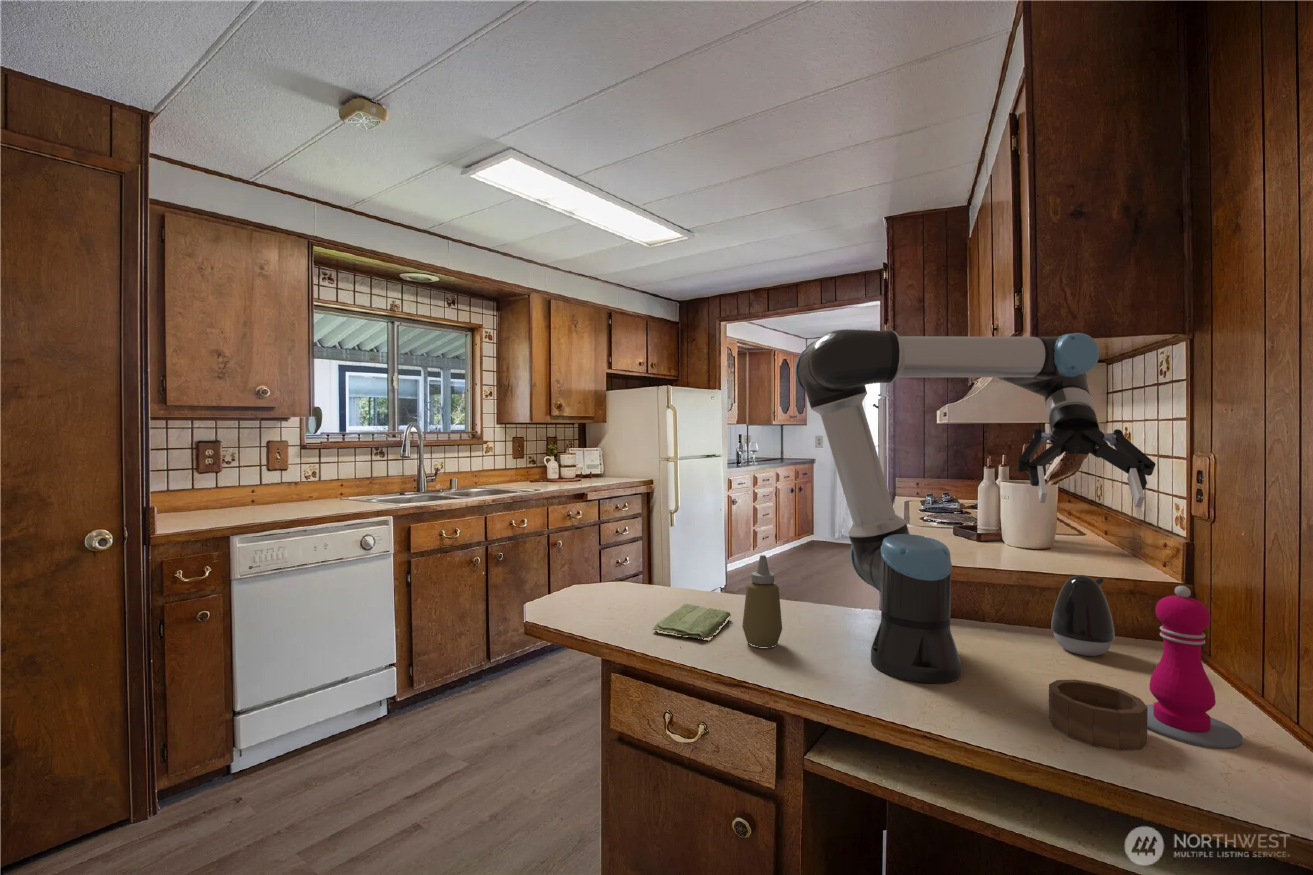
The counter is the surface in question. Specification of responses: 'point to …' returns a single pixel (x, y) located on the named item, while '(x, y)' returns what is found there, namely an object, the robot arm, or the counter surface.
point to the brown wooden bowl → (1098, 714)
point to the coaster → (1198, 733)
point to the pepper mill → (1182, 665)
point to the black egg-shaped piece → (1083, 617)
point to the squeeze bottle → (762, 608)
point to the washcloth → (693, 621)
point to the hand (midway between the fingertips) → (1090, 500)
